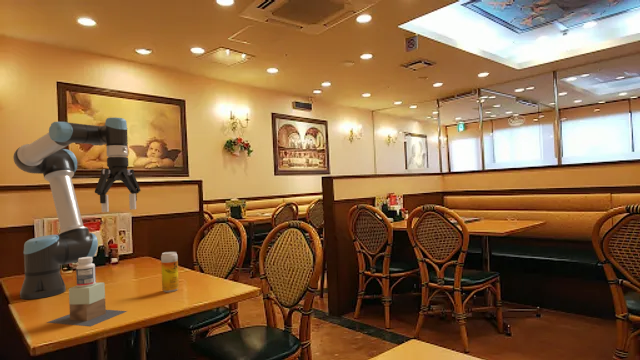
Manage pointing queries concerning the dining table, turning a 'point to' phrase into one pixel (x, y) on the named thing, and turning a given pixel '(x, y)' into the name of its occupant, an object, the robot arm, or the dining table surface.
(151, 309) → the dining table surface
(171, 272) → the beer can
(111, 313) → the mat
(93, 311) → the block lower
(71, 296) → the block upper
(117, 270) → the dining table surface
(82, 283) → the pill bottle
